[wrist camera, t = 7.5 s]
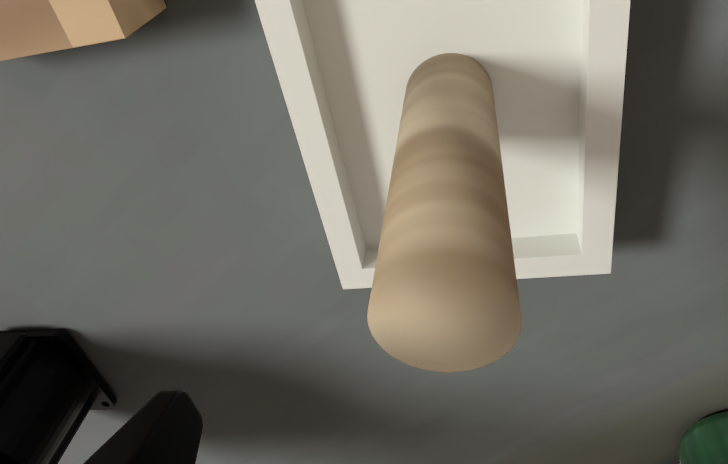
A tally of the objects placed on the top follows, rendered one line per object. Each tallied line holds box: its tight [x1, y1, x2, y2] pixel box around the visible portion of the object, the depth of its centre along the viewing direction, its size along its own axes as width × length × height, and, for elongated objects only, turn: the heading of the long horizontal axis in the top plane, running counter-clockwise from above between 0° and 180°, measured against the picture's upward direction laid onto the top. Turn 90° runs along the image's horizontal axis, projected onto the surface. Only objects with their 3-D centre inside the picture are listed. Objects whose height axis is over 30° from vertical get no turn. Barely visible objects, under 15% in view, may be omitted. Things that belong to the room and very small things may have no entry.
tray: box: [255, 0, 630, 289], centre depth 18 cm, size 14×10×2 cm
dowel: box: [367, 53, 521, 372], centre depth 14 cm, size 3×3×10 cm
